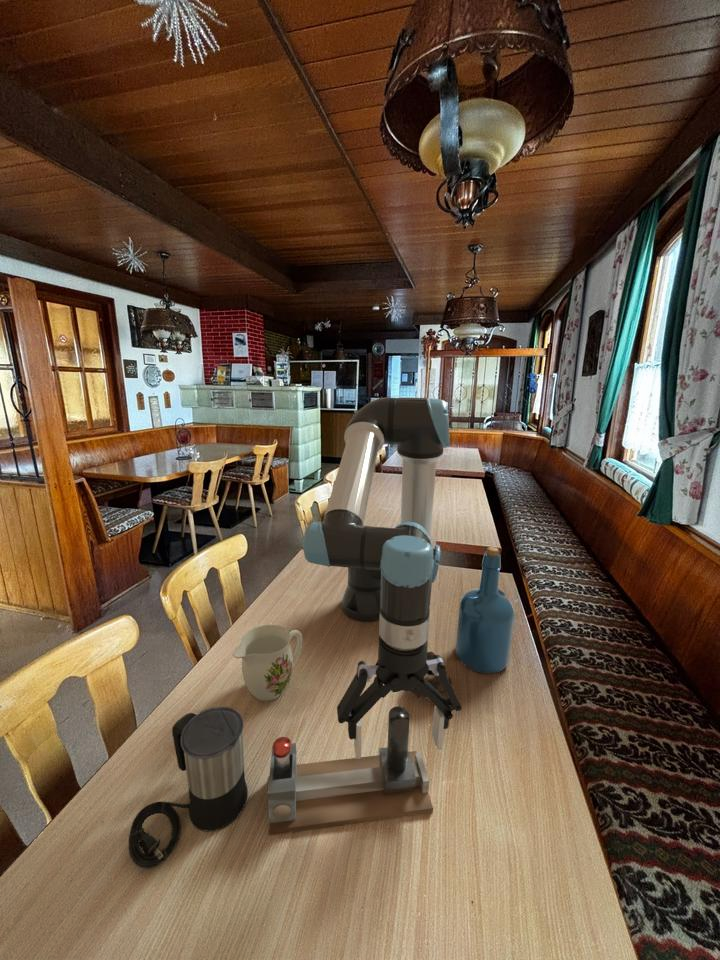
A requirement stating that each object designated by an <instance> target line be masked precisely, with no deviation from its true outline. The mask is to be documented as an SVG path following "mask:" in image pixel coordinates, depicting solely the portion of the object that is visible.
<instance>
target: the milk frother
mask: <svg viewBox="0 0 720 960" xmlns="http://www.w3.org/2000/svg"><path fill="white" fill-rule="evenodd" d="M243 730H244V719H243V717H242V715H241V713H240V712H238V710H237V709H234V708H232V707H229V706H222V705H221V706H214V707H209V708H207V709H204V710H201V711H200V712H199V713H198V714H196V713H194V712H189V713H187V714H185V715H183V716H181V718H179V719H178V720H177V721H176V722H175V723H174V724H173V726H172V730H171V733H172V740H173V744H174V749H175V750H174V751H175V754H176V755H175V756H176V760H177V765H178V768H179V770H180V771H181V772H184V771H186V778H187V786H188V788H187V789H188V798H189V803H176V802H169V801H155V802H152V803H150V804H147V805H146V806H144V807H143V808H142V809H141V810H140V811H139V812H138V813H137V814H136V816H135V817H134V818H133V821H132V823H131V827H130V830H129V833H128V834H129V835H128V853H129V857H130V859H131V861H132V862H133V863H134V864H135V865H136V866H138V867H139V868H142V869H151V868H153V867H156V866H158V865H159V864H161V863H162V862H163V861H165V860H166V859H167V858H168V857H169V855H171V853H172V852H173V850H174V849H175V847H176V845H177V844H178V842H179V839H180V835H181V829H182V827H181V826H182V824H181V818H180V815H179V814H178V813H179V812H177V810H176V809H175V807H176V808H179V809H188V818H189V820H190V822H191V823H192V825H193V826H194V827H196V829H198V830H200V831H204V832H214V831H219V830H221V829H224V828H225V827H227V826H229V825H230V824H232V823H233V821H235V820H236V819H237V818H238V817H239V815H240V814H241V813H242V811H243V809H244V808H245V805H246V803H247V800H248V791H249V790H248V786H247V783H246V778H245V777H246V775H245V765H244V764H245V763H244V761H245V759H244V758H245V757H244V744H243V743H244V741H243ZM157 814H158V815H159V814H161V815H165V816H166V817H168V819H169V821H170V825H171V834H170V838H169V841H168V843H167V844H166V845H165V847H164V849H162V850H161V849H160V844H161V842H162V840H161V839H160V838H158V839H156V838H155V837H154V836H153V835H152V834H150V832H146V831H145V828H143V825H144V823H145V821H146V820H147V819H148V818H149V817H151V816H153V815H157Z"/></svg>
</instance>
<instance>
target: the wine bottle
mask: <svg viewBox="0 0 720 960" xmlns="http://www.w3.org/2000/svg"><path fill="white" fill-rule="evenodd" d="M501 557H502V556H501V554H500V551H499V548H497V547H495V546H489V547H487V550H486V551H485V552H484V555H483V558H482V563H481V567H482V569H481V574H480V581H479V588H478V587H477V588H472V589H470V590H469V591H467V592H465V593H464V594H463V595H462V596H461V597H460V601H459V608H458V619H457V630H456V631H457V632H456V633H457V634H456V643H455V654H456V656H457V657H458V659H459V660H460V662H461V663H462V665H464V666H465V667H468V669H471V670H472V671H473V672H478V673H483V674H487V675H490V674H496V673H500V672H502V671H503V670H504V669H505V668H506V667H507V666H508V665H509V664H510V657H511V651H512V644H513V643H512V642H513V635H514V628H515V626H514V625H515V620H516V613H515V607H514V604H513V603H512V601H511V600H510V599H509V598H508V597H507V596H506V594H507V593H506V592H504V591H502V590H501V589H499V586H500V584H499V583H500V570H502V564H501V560H502V558H501Z"/></svg>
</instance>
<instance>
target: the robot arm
mask: <svg viewBox="0 0 720 960" xmlns="http://www.w3.org/2000/svg"><path fill="white" fill-rule="evenodd" d="M448 406H449V405H448V403H447V402H446V401H445V400H443V399H442V398H441V399H440V398H430V397H391V396H390V397H380V398H376V399H375V400H374V399H373V400H371V401H370V402H368V403H366V404H365V405H364V406H363V407H361V408H360V409H358V411H357V412H356V413H354V415H353V416H352V417H351V418H350V419H349V420H350V421H349V422H348V424H347V426H346V427H345V428H346V429H345V431H344V435H343V436H344V437H343V438H344V442H345V447H344V449H343V452H342V456H341V458H340V459H341V460H340V463H339V466H338V470H337V474H336V477H335V480H334V483H333V485H332V488H331V489H332V490H331V493H330V496H329V500H328V503H327V507H326V509H325V513H324V515H323V516H324V517H323V520H322V521H320V520H319V521H312V522H310V523H309V524H308V525H307V527H306V529H305V531H304V534H303V539H302V540H303V541H302V542H303V543H302V544H303V545H302V548H303V549H302V550H303V555H304V559H305V560H306V561H307V562H308V563H310V564H314V565H320V566H325V567H328V568H330V567H340V568H347V586H346V588H345V591H344V593H343V596H342V599H341V609H342V612H343V614H344V615H346V617H349V618H350V619H352V620H354V621H358V622H366V623H367V622H368V623H369V622H377V621H378V622H379V624H378V634H379V635H378V648H377V649H378V651H377V652H378V653H377V655H378V656H377V661H376V662H375V664H369V665H368V664H366V662H365V661H364V660H360V661H359V662H358V663H357V668H356V673H355V675H354V677H353V678H352V680H351V682H350V684H349V685H348V687H347V689H346V691H345V693H344V694H343V696H342V698H341V700H340V701H339V703H338V705H337V706H336V712H337V722H338V723H339V724H344V723H345V722H346V723H347V733H348V738H349V739H350V740H353V739H354V740H353V741H354V742H353V745H354V752H355V753H354V754H355V758H356V759H360V758H361V757H362V719H363V718H364V717H365V715H366V714H367V713H369V711H370V710H371V709H372V708H373V707H374V706H375V705H376V704H377V703H378V701H379V700H380V699H382V698H383V699H384V698H385V697H387V695H389V693H390V692H392V693H399V692H403V691H405V692H410V691H412V689H413V688H416V689H417V690H418V691H419V692H420V693H421V694H424V695H425V696H426V697H427V698H426V699H428V700H429V701H430V703H432V704H433V705H434V706H433V707H434V708H433V710H434V711H433V720H432V721H433V722H432V733H431V736H432V739H433V742H434V744H435V747H436V750H437V751H438V750H442V748H443V736H444V730H446V729H448V728H449V725H450V720H452V719H453V717H454V715H453V713H452V712H453V711H456V712H461V711H462V709H463V707H462V703H461V702H460V700H459V698H458V696H457V694H456V692H455V690H454V688H453V685H452V686H451V684H450V682H449V680H448V678H447V676H446V671H447V667H446V663H444V660H443V658H442V656H441V655H440V654H435V656H434V660H428V661H426V660H427V652H428V644H429V642H428V639H429V628H430V615H431V614H430V613H431V612H430V611H431V609H430V607H431V596H432V586H433V585H432V584H433V583H435V581H436V579H437V575H438V571H439V567H440V559H441V546H440V545H439V544H437V541H436V538H434V536H433V535H432V528H433V527H432V525H433V512H434V499H435V498H434V497H435V487H436V486H435V485H436V484H435V483H436V472H437V471H436V470H437V460H438V459H439V458H441V457H442V456H443V455H444V449H446V448H449V447H450V446H451V445H450V443H451V442H450V441H451V440H450V439H451V438H450V436H451V435H450V424H449V423H450V422H449V421H450V419H449V408H448ZM384 445H390V446H396V452H397V454H398V456H400V457H401V458H402V471H401V473H402V475H401V499H400V500H401V501H400V502H401V503H400V523H399V524H398V525H396V526H394V527H386V526H385V527H382V526H370V525H364V522H365V519H366V518H365V517H366V514H367V508H368V502H369V498H370V493H371V489H372V488H371V487H372V483H373V478H374V473H375V468H376V463H377V457H378V453H379V452H380V451H381V450H382V449H383V446H384ZM429 670H431V671H432V672H433V674H436V676H438V677H439V679H440V682H441V684H442V685H443V687H444V689H445V690H444V691H445V693H446V695H447V697H448V698H445V697H444V696H443V694H441V693H440V692H439V691H438V690H436V689H435V688H434V687H433V686H432V685H431V683H430V681H428V680H427V678H425V676H426V675H428V674H427V673H428V671H429ZM373 676H375V677H374V679H373V682H371V679H372V677H373ZM369 682H371V684H370V685H369V686H368V687H367V688H366V686H367V683H369ZM365 688H366V689H365Z"/></svg>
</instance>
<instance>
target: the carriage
mask: <svg viewBox="0 0 720 960" xmlns="http://www.w3.org/2000/svg"><path fill="white" fill-rule="evenodd" d="M410 718H411V715H410V711H409V710H408V709H407V708H405V707H403V706H399V705H398V706H394V707H392V708H391V709H390V710H389V712H388V723H387V727H388V728H387V729H388V730H387V747H379V748H378V755H379V759H380V765H379V767H381V769H382V774H383V779H384V795H387V794H395V793H403V792H411V791H414V787H415V786H416V777H415V773H414V770H413V766H412V762H411V759H410V755H409V752H410V751H409V735H410V720H411V719H410Z"/></svg>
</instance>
